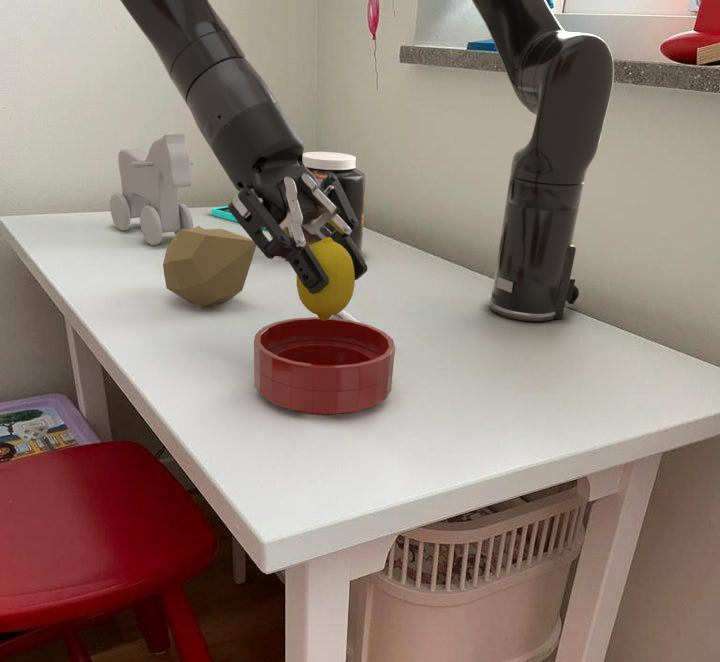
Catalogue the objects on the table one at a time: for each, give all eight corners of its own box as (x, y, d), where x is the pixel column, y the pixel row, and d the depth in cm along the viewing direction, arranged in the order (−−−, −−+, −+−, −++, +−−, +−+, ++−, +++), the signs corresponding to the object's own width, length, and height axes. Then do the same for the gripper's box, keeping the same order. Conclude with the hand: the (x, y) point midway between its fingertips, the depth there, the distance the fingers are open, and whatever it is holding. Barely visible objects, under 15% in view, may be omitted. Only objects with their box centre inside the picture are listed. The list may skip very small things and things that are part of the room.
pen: (383, 350, 90) (384, 340, 89) (316, 300, 104) (316, 292, 103) (390, 349, 90) (390, 340, 89) (322, 300, 104) (322, 291, 104)
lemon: (326, 307, 79) (330, 227, 74) (363, 323, 75) (369, 240, 71) (283, 317, 75) (285, 234, 71) (320, 334, 72) (324, 248, 68)
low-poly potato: (236, 324, 95) (289, 265, 100) (184, 250, 89) (244, 191, 94) (171, 324, 106) (222, 271, 110) (120, 258, 99) (176, 205, 104)
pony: (214, 247, 125) (210, 134, 116) (156, 255, 119) (147, 137, 110) (156, 221, 138) (148, 118, 129) (100, 227, 132) (89, 119, 123)
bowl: (384, 367, 85) (388, 320, 83) (395, 423, 74) (401, 370, 71) (259, 363, 84) (258, 314, 82) (250, 419, 72) (249, 364, 70)
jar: (342, 268, 119) (347, 165, 111) (275, 256, 122) (276, 155, 115) (371, 252, 128) (378, 156, 121) (308, 241, 132) (311, 147, 124)
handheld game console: (270, 231, 136) (270, 223, 136) (209, 215, 145) (209, 207, 144) (308, 223, 143) (308, 216, 143) (248, 208, 152) (248, 201, 151)
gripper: (209, 100, 64) (318, 275, 64) (316, 96, 74) (408, 246, 75) (168, 159, 69) (269, 320, 70) (273, 148, 79) (360, 288, 80)
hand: (341, 281), depth 72 cm, fingers closed on lemon, 5 cm apart
